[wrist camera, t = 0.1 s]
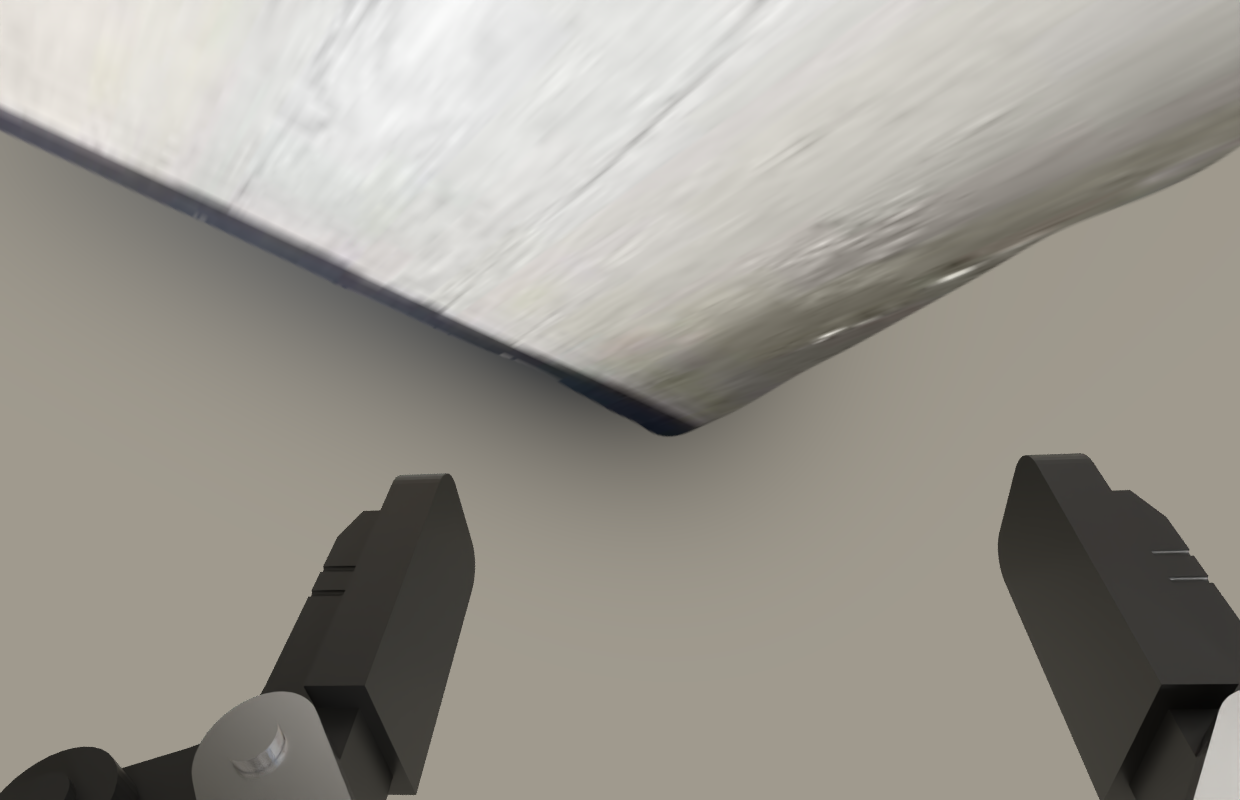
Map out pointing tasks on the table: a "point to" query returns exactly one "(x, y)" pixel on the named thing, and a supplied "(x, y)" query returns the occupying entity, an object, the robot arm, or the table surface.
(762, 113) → the table surface
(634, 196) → the table surface
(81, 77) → the table surface
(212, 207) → the table surface
